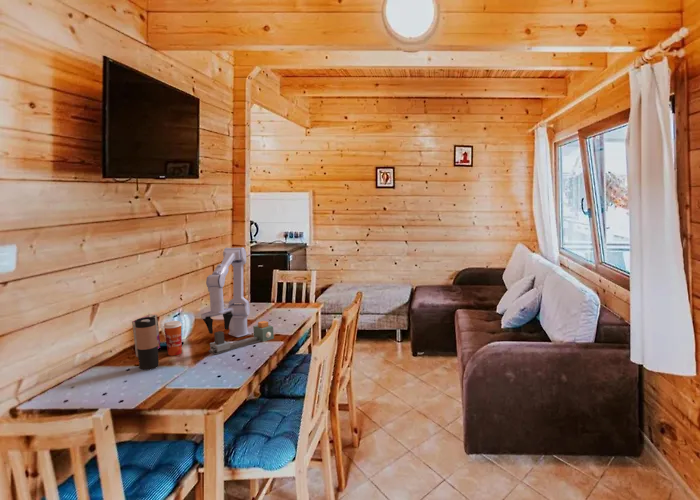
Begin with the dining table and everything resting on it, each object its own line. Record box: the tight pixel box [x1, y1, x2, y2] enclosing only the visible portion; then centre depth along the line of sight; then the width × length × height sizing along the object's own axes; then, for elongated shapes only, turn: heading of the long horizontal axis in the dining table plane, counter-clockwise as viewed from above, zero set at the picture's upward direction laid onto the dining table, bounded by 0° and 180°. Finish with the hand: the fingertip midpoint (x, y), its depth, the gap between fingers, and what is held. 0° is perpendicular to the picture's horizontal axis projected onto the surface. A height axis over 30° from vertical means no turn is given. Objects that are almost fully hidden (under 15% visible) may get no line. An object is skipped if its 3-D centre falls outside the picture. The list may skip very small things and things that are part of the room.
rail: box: [208, 335, 261, 356], centre depth 199 cm, size 6×23×2 cm, turn 135°
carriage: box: [209, 330, 231, 352], centre depth 193 cm, size 7×6×7 cm
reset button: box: [257, 320, 269, 328], centre depth 209 cm, size 4×4×4 cm
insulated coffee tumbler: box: [131, 314, 161, 358], centre depth 193 cm, size 11×5×16 cm, turn 168°
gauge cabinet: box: [253, 324, 275, 342], centre depth 209 cm, size 8×6×6 cm
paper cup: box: [162, 320, 183, 357], centre depth 192 cm, size 8×8×14 cm
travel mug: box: [134, 317, 160, 371], centre depth 176 cm, size 8×8×20 cm
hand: (218, 331), depth 193 cm, fingers open, 7 cm apart
